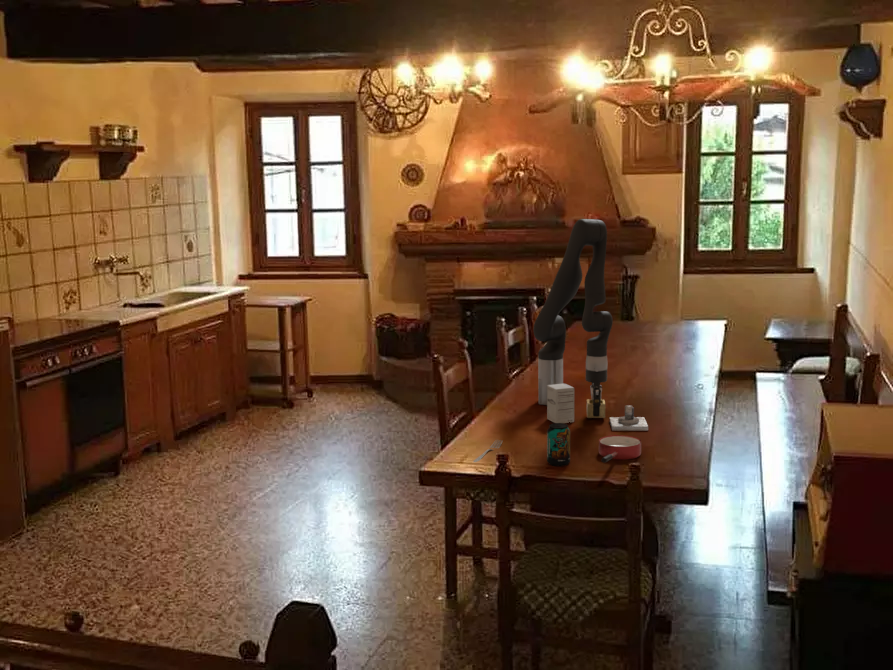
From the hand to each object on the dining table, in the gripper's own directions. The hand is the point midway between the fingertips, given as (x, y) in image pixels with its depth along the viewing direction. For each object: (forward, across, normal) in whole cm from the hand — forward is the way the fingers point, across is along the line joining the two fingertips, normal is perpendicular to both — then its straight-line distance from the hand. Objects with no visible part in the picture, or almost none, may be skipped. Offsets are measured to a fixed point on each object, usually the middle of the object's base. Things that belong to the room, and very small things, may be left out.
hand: (595, 413), depth 363 cm
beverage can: (+2, +53, -14) cm, 55 cm away
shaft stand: (+2, +10, +11) cm, 15 cm away
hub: (+1, 0, 0) cm, 1 cm away
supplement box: (+2, +3, -12) cm, 13 cm away
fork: (+2, +44, -37) cm, 57 cm away
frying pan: (+2, +52, +4) cm, 52 cm away
